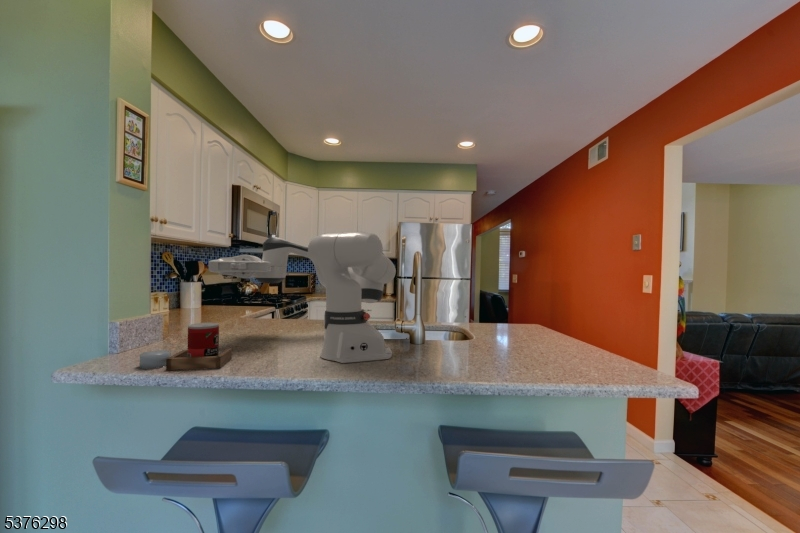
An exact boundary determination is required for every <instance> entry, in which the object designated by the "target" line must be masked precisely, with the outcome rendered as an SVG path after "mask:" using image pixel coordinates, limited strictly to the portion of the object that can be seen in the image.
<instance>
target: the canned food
mask: <svg viewBox="0 0 800 533" xmlns="http://www.w3.org/2000/svg"><path fill="white" fill-rule="evenodd" d="M219 342H220V324H219V323H218V322H197V323H191V324H189V325H188V326H187V350H188V357H209V356H218V355H220V353H219V351H220V350H219V349H220V348H219V347H220V346H219V345H220V343H219Z"/></svg>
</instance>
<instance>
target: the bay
mask: <svg viewBox="0 0 800 533" xmlns="http://www.w3.org/2000/svg"><path fill="white" fill-rule="evenodd" d="M232 350H233V348H226V349H225V350H223V352H221V353H219V355H218V356H209V357H188V349H182V350H181V351H179V352H177V353H175V354H173V355H170V357H169V358H167V359H166V366H165V370H166V371H175V370H174V369H186V370H205V369H204V368H212V369H221V368H222V367H223V366H224V365H226V364H227V363H228V362H230V361H231V360H232V357H233V351H232Z"/></svg>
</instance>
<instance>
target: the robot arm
mask: <svg viewBox="0 0 800 533" xmlns="http://www.w3.org/2000/svg"><path fill="white" fill-rule="evenodd" d="M307 245H308V247H306V246H304V245H299V244H296V243H293V242H290V241H288V240H287V239H284V238H282V237H279V236H277V237H276V236H270V237H268V238H267V239H265V240H264V242H263V243H262V257H261V258H260V257H258V256H255V255H250V254H241V255H236V256H230V257H229V256H228V257H227V256H226V257H225V256H224V257H220V258H218V259H213V260H209V261H208V272H211V273H214V274H215V273H216V274H219V275H220V276H229V277H230V276H231V277H236V278H239V279H251V278H252V279H255V280H256V281H257V282H259V283H262V284H279V283H281V282H282V281H284V280H285V279H286V276H287V269H288V261H289V260H288V259H289V255H290V254H291V253H292V254H295V255H297V256H302V257H305V258H308V259H309V260H310V261H311V262H312V263H313V265H314V269H315V273H316V277H317V280H318V282H319V283H320V285H321V286H322V287H324V289H325V303H326V304H325V311H324V315H323V326H324V338H323V344H322V348H321V352H320V355H319V356H320V358H322V359H324V360H328V361H335V362H338V363H340V364H341V363H342V364H345V363H359V362H369V361H381V360H382V361H383V360H389V359H391V358H392V357H393V352H392V349H390V348H389V347H387V346H386V342H385V338H384V335H383V334H382V333H381V332H380V331H379V330H378V329H376V328H375V327H374V326H373V325H371V324H370V323H369V322H368V321H369V320H370V319H371V315H370V313H368V312H366V311H364V310H362V302H363V303H366V304H367V303H368V304H374V303H377V302H380V301H381V300H382V298H383V297H384V296H383V295H384V287H385V284H389V283H390V282H392V281H393V280H394V278H395V276H396V272H397V270H396V265H395V264H394V263H393V261H392V260H391V259H390V258H388V256H386V255H385V253H384V252H383V251H384V250H383V248H384V247H383V243H382V241H381V239H380V237H379V236H378V235H377V234H375V233H371V232H366V231H347V232H343V231H342V232H326V233H322V234H319V235H316V236H313V237H312V238H311V240H310V241H309V243H308V244H307Z"/></svg>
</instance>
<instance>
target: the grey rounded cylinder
mask: <svg viewBox="0 0 800 533" xmlns="http://www.w3.org/2000/svg"><path fill="white" fill-rule="evenodd" d="M169 357H171V350H167V349H166V350H164V349H161V350H159V349H158V350H151V351H150V350H149V351H146V352H143V353H140V354H139V369H142V370H152V369H151V368H154V369H159V368H158V367H160V368H164V367H163V366H165V367H166V359H167V358H169Z"/></svg>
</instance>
